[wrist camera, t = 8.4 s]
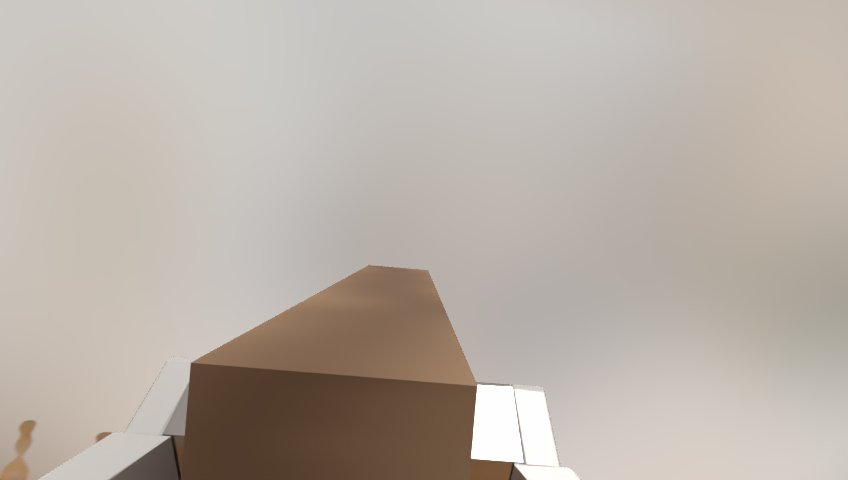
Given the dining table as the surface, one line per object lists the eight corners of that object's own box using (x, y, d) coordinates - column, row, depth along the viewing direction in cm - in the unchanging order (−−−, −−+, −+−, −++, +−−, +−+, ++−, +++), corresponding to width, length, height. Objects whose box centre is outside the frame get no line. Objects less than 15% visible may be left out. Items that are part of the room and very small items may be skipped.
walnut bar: (162, 697, 6) (190, 361, 6) (362, 334, 30) (368, 265, 30) (449, 719, 6) (477, 386, 6) (422, 339, 30) (427, 270, 30)
